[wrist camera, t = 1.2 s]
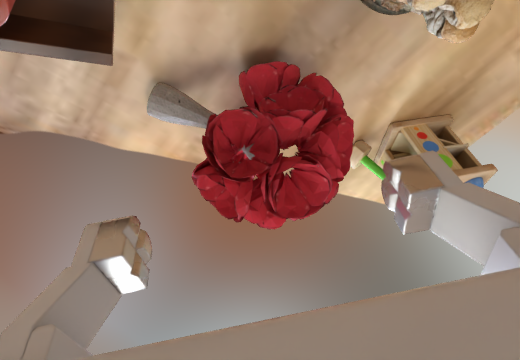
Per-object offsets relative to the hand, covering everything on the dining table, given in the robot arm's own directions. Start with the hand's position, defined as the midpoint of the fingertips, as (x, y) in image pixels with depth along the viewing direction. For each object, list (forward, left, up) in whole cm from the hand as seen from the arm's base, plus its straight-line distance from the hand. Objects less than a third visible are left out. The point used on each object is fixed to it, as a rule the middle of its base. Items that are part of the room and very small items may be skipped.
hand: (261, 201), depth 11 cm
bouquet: (+14, -23, -39) cm, 47 cm away
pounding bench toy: (+53, -31, -39) cm, 72 cm away
